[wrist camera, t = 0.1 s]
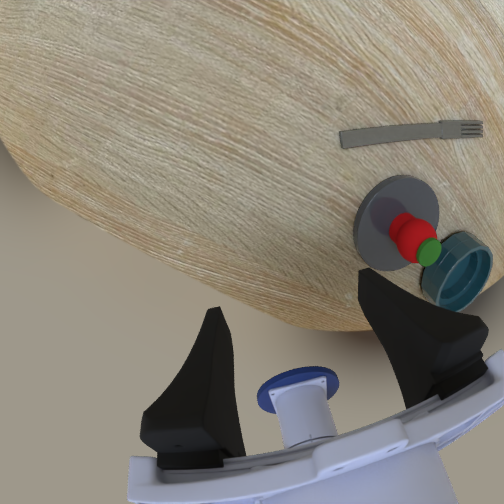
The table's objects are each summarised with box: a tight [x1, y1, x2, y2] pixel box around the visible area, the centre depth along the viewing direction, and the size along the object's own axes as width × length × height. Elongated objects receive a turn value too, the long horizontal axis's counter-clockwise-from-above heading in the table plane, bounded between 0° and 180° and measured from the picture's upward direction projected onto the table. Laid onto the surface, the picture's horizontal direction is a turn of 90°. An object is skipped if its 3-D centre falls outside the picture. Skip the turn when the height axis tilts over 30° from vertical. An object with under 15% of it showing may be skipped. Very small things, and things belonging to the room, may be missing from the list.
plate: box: [353, 175, 439, 271], centre depth 25 cm, size 10×10×1 cm
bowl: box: [421, 232, 493, 312], centre depth 28 cm, size 10×10×4 cm
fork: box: [339, 120, 483, 149], centre depth 20 cm, size 18×2×1 cm, turn 102°
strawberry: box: [389, 213, 441, 267], centre depth 22 cm, size 4×4×5 cm
